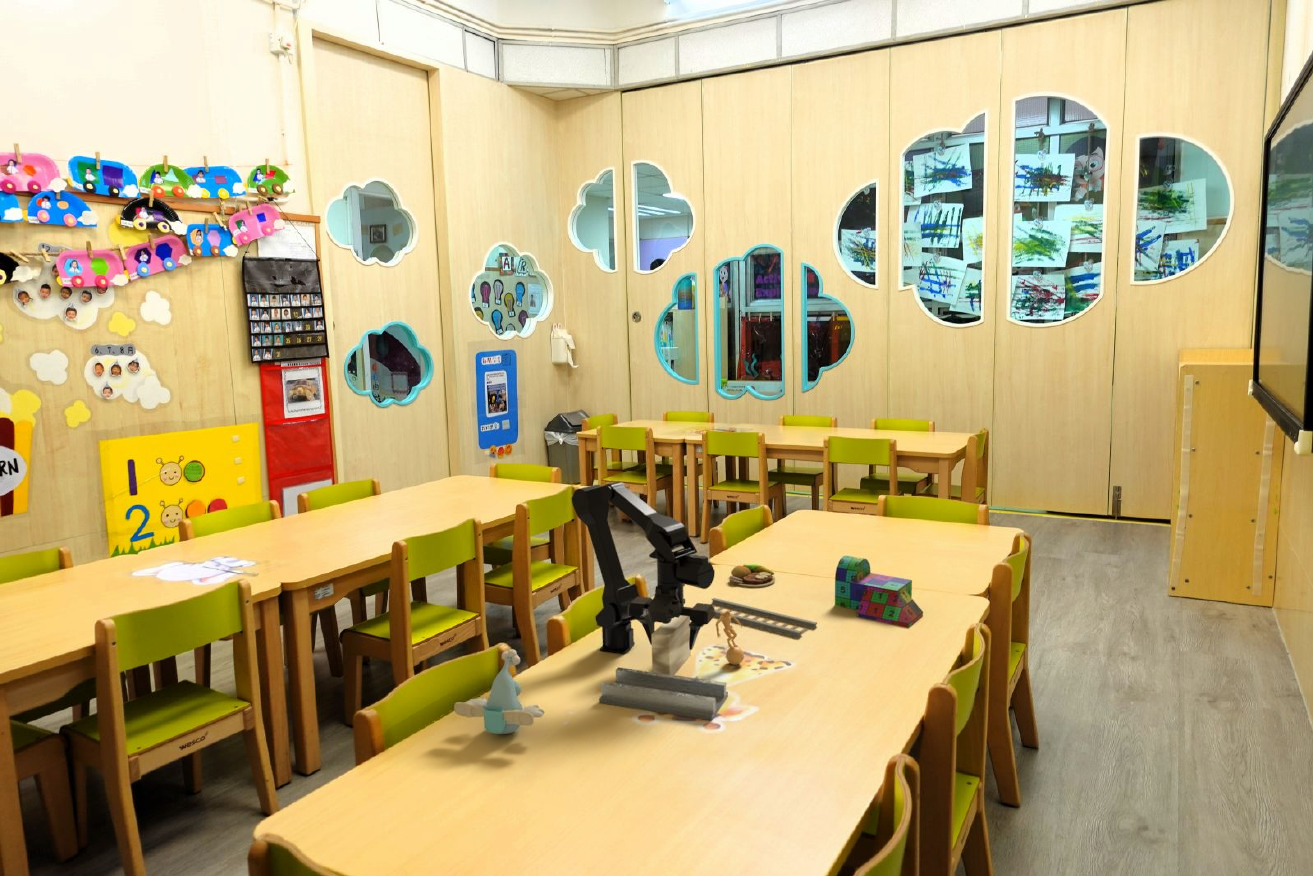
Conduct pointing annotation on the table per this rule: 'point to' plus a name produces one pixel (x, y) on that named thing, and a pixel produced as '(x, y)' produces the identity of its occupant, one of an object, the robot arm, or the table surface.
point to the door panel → (671, 646)
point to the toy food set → (752, 576)
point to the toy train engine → (874, 593)
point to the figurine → (730, 638)
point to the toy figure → (501, 702)
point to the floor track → (665, 693)
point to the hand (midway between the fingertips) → (671, 646)
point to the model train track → (762, 624)
